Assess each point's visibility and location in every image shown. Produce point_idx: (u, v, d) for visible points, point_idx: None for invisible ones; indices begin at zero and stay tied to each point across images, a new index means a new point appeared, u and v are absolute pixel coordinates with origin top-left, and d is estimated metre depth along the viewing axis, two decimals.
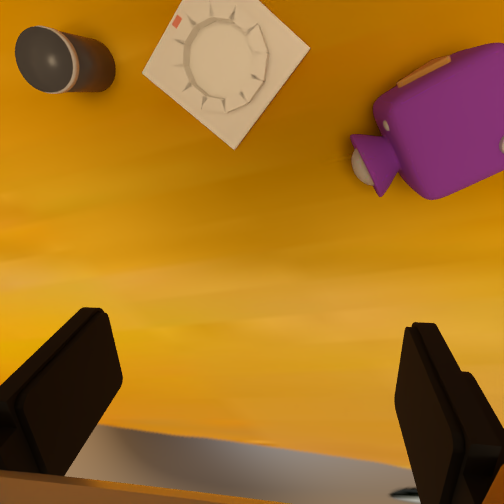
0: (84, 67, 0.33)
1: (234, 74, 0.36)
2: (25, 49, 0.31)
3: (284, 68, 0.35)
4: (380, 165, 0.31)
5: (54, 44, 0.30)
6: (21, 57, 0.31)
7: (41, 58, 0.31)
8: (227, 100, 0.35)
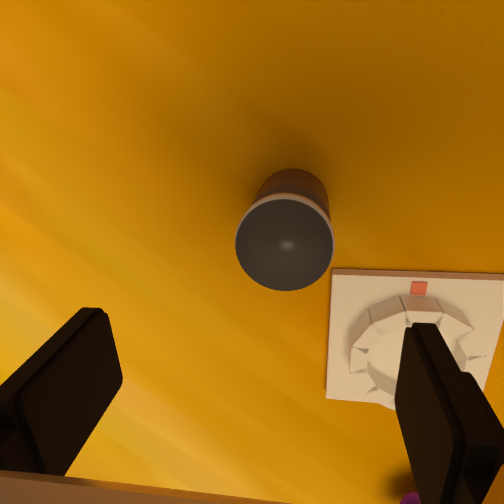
0: None
1: None
2: (279, 218, 0.18)
3: None
4: None
5: (318, 255, 0.18)
6: (262, 217, 0.18)
7: (284, 245, 0.19)
8: (378, 391, 0.28)
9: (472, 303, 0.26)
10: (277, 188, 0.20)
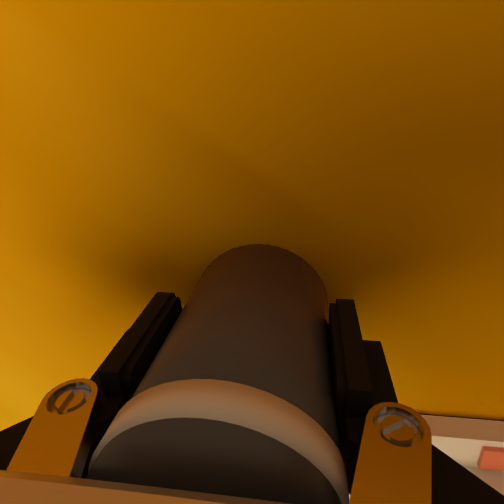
0: None
1: None
2: (189, 476, 0.06)
3: None
4: None
5: None
6: (143, 467, 0.06)
7: None
8: None
9: None
10: (207, 334, 0.08)
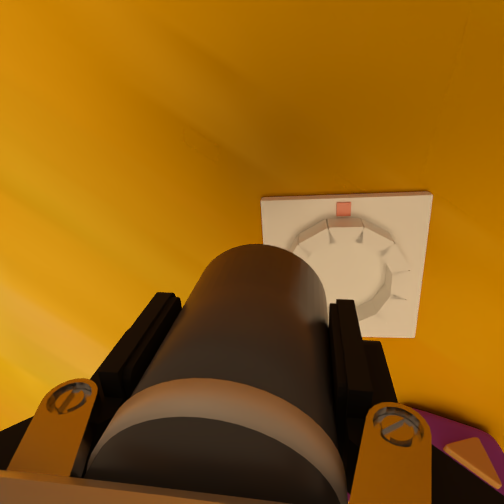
0: None
1: (338, 291, 0.29)
2: (187, 475, 0.06)
3: (380, 329, 0.30)
4: None
5: None
6: (141, 466, 0.06)
7: None
8: None
9: (396, 221, 0.26)
10: (206, 333, 0.08)
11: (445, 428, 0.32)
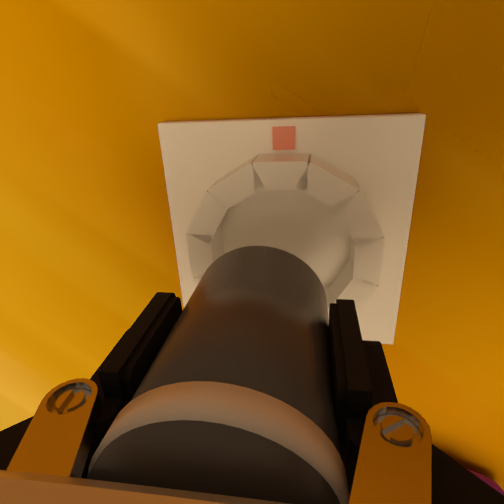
0: None
1: None
2: (189, 478, 0.06)
3: None
4: None
5: None
6: (143, 470, 0.06)
7: None
8: None
9: (366, 159, 0.16)
10: (207, 336, 0.08)
11: None
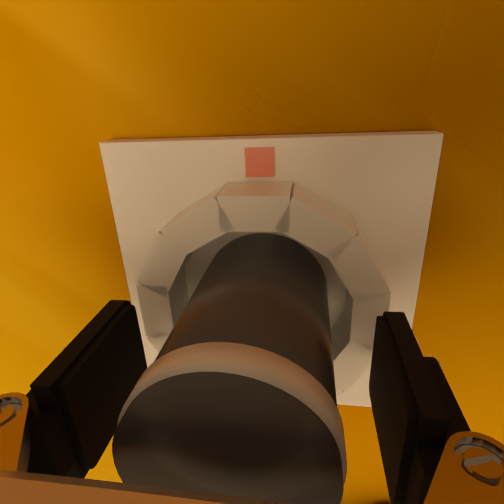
0: None
1: None
2: (208, 421, 0.07)
3: None
4: None
5: (307, 497, 0.08)
6: (168, 414, 0.07)
7: (226, 472, 0.08)
8: None
9: (366, 190, 0.13)
10: (219, 308, 0.09)
11: None
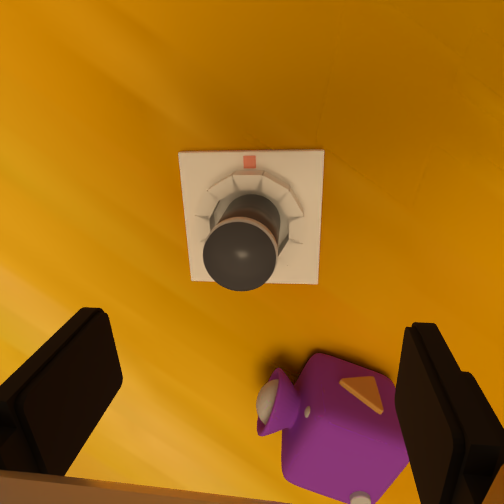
0: None
1: None
2: (235, 236, 0.24)
3: (287, 276, 0.34)
4: (277, 426, 0.32)
5: (265, 264, 0.25)
6: (222, 235, 0.24)
7: (239, 256, 0.25)
8: None
9: (295, 174, 0.30)
10: (235, 212, 0.26)
11: (346, 368, 0.35)
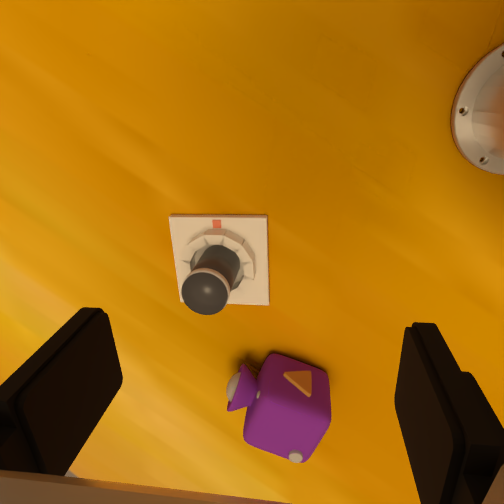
0: None
1: None
2: (200, 281, 0.38)
3: (247, 299, 0.47)
4: (239, 404, 0.47)
5: (220, 298, 0.38)
6: (193, 280, 0.38)
7: (204, 293, 0.38)
8: None
9: (248, 232, 0.44)
10: (203, 263, 0.40)
11: (291, 364, 0.49)
